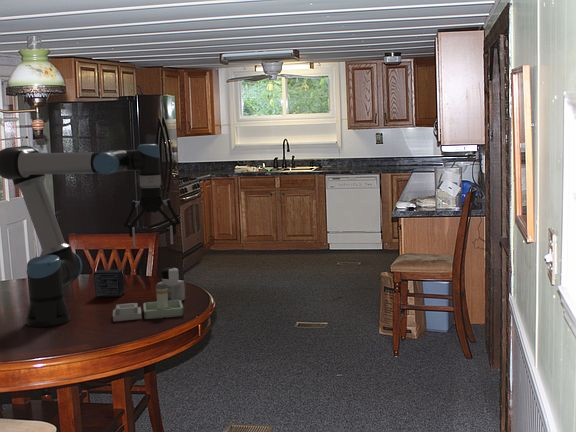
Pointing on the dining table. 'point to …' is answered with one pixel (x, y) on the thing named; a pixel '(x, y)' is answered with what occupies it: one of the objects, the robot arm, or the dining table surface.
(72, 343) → the dining table surface
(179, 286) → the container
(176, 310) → the tray
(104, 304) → the dining table surface
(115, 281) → the small box
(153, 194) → the robot arm
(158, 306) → the fuse
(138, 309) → the holder
